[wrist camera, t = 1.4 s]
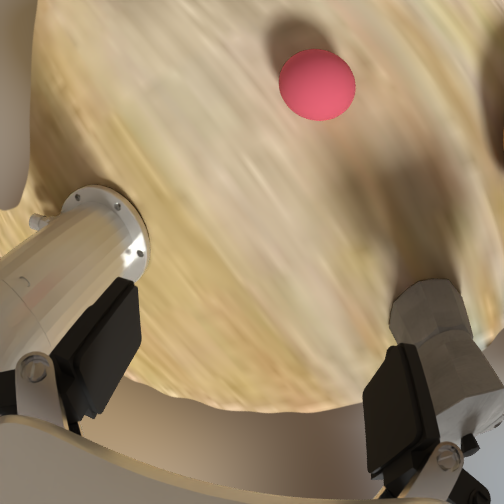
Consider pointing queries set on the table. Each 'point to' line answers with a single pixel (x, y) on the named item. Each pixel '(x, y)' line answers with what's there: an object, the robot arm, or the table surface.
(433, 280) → the coffeepot
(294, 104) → the ball
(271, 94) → the table surface
